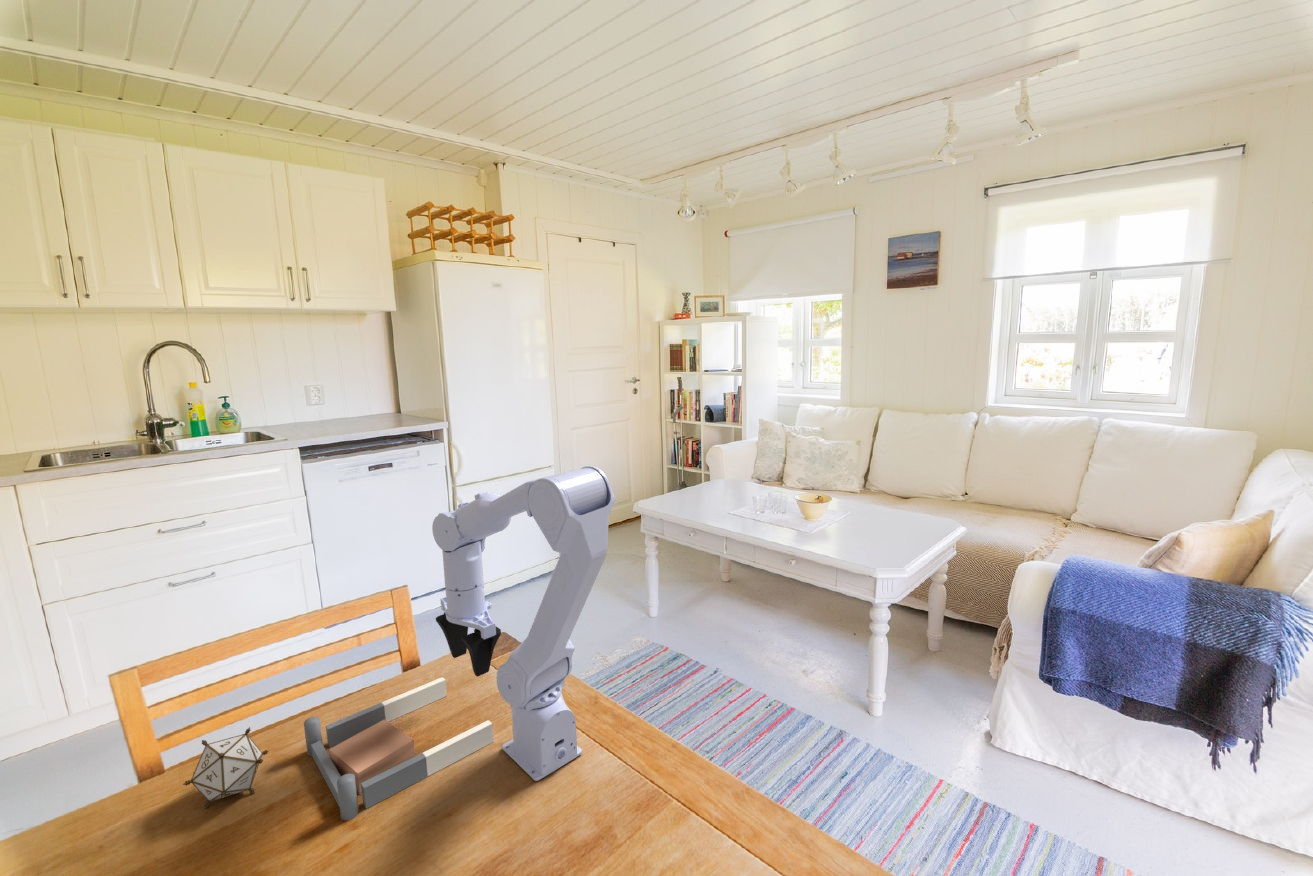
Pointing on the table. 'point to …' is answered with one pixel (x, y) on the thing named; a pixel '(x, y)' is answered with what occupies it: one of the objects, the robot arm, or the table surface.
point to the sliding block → (372, 752)
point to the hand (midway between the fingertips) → (470, 664)
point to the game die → (227, 767)
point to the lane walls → (450, 748)
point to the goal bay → (345, 784)
